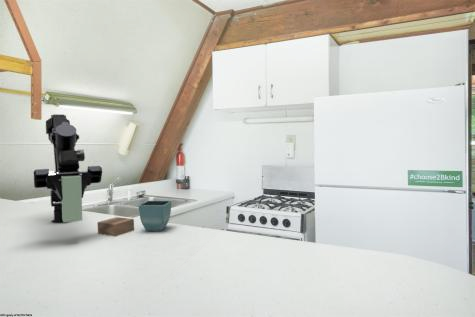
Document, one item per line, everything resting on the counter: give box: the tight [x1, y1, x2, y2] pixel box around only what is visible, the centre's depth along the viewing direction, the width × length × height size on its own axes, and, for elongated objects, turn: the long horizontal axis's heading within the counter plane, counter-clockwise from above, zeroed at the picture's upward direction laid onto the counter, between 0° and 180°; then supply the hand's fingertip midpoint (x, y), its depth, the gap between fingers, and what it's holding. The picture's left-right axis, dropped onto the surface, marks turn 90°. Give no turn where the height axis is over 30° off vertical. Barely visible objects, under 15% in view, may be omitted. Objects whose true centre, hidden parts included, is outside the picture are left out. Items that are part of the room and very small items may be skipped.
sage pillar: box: [61, 175, 83, 223], centre depth 104 cm, size 5×5×13 cm
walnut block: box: [97, 216, 135, 237], centre depth 116 cm, size 8×8×4 cm
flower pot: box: [137, 200, 173, 232], centre depth 117 cm, size 9×9×9 cm
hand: (72, 198), depth 103 cm, fingers closed on sage pillar, 5 cm apart
